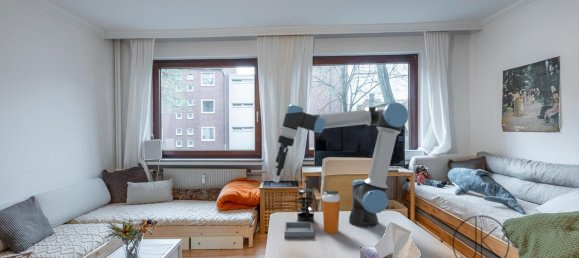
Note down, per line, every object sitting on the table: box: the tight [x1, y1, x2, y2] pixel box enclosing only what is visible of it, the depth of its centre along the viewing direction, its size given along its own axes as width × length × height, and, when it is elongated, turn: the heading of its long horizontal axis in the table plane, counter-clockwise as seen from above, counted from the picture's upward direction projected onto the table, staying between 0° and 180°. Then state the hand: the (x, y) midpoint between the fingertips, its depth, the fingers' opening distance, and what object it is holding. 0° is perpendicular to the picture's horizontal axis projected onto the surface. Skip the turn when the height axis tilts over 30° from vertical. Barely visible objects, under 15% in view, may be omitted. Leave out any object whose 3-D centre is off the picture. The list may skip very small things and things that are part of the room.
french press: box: [296, 178, 315, 224], centre depth 163 cm, size 12×9×23 cm
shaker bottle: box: [321, 189, 341, 235], centre depth 148 cm, size 9×9×20 cm
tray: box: [284, 221, 314, 239], centre depth 146 cm, size 14×14×3 cm
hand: (275, 178), depth 144 cm, fingers open, 13 cm apart
